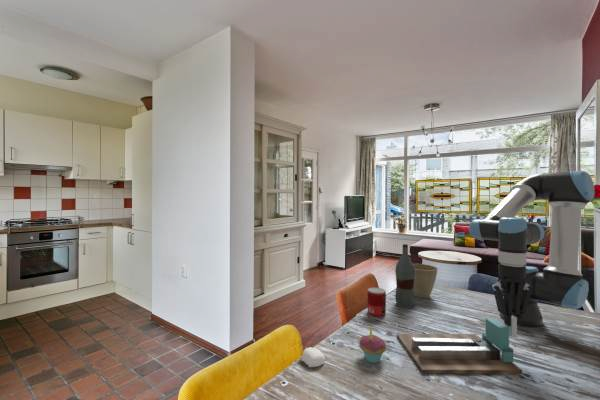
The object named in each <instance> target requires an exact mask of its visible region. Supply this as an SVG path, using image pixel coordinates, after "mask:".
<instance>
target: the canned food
mask: <svg viewBox="0 0 600 400" xmlns="http://www.w3.org/2000/svg"><path fill="white" fill-rule="evenodd" d="M386 301H387V295H386V290H385V289H384V288H380V287H369V288H368V289H367V313H368V315H370V316H372V317H375V318H376V317H377V318H378V317H379V318H382V317H384V316H386V313H387V312H386V311H387V307H386V305H387V304H386V303H387V302H386Z"/></svg>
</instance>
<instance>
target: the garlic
mask: <svg viewBox="0 0 600 400" xmlns="http://www.w3.org/2000/svg"><path fill="white" fill-rule="evenodd" d="M325 360H326V357H325V355H324V354H323V353H322V351H321V350H319V348H315V347H311V346H309V347H305V349H304V350H303V351H302V358H301V361H302V362H304V364H306V366H307V367H308V368H317V367H320V366H322V365H324V364H325V362H326V361H325Z"/></svg>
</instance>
